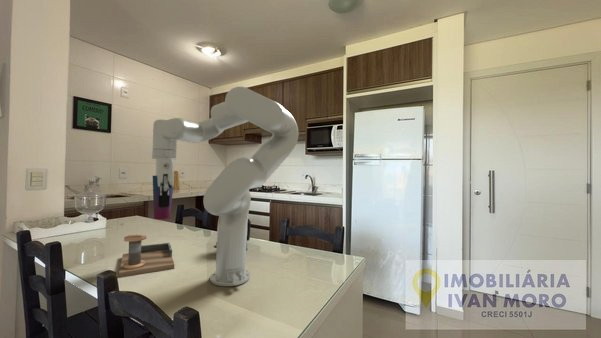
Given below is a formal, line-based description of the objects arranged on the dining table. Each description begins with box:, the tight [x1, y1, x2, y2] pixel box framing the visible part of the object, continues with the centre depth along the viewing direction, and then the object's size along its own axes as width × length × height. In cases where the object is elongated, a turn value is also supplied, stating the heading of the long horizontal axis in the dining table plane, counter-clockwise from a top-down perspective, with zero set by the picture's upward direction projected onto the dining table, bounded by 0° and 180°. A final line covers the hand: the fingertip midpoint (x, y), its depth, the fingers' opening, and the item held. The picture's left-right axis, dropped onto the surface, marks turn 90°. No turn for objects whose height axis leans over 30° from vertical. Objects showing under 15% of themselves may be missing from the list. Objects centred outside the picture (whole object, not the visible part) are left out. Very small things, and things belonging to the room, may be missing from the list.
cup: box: [152, 175, 174, 220], centre depth 89 cm, size 7×7×15 cm
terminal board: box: [118, 233, 175, 278], centre depth 93 cm, size 20×16×12 cm
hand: (162, 205), depth 89 cm, fingers closed on cup, 6 cm apart
